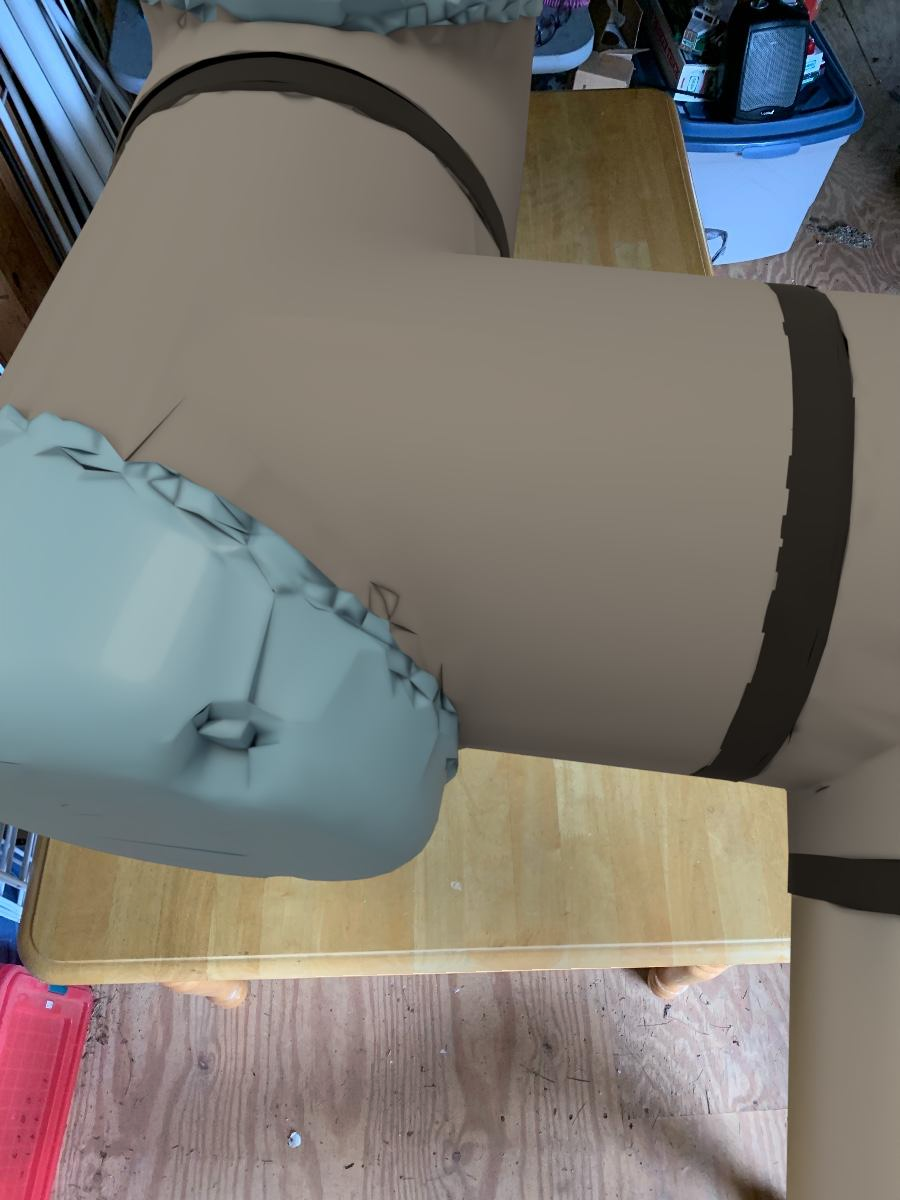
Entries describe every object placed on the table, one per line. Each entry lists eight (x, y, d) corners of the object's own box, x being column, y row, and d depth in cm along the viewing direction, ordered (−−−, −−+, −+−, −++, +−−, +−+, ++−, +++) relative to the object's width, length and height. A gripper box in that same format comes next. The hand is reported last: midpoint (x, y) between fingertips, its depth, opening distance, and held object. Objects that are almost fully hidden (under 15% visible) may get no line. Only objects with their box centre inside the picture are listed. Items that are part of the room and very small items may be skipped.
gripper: (775, 365, 28) (644, 639, 46) (55, 291, 29) (209, 585, 48) (786, 557, 24) (639, 770, 43) (-33, 461, 26) (170, 706, 44)
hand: (412, 673), depth 45 cm, fingers open, 13 cm apart
